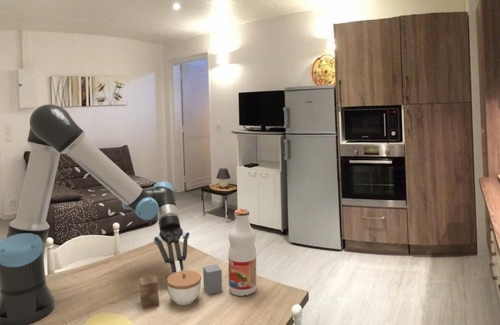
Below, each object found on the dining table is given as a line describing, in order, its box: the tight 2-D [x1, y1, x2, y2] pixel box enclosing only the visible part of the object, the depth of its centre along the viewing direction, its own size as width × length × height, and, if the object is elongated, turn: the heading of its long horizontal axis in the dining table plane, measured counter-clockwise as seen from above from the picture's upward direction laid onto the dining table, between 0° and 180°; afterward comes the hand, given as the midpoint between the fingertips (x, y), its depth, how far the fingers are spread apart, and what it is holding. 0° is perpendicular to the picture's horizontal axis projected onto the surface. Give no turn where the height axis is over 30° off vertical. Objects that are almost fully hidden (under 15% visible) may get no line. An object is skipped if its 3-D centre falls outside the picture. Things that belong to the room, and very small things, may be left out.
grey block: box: [202, 263, 223, 296], centre depth 121 cm, size 5×5×8 cm
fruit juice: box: [227, 208, 257, 297], centre depth 119 cm, size 9×9×28 cm
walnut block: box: [139, 274, 160, 310], centre depth 113 cm, size 5×5×8 cm
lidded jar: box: [166, 270, 202, 306], centre depth 114 cm, size 11×11×9 cm
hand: (179, 280), depth 120 cm, fingers closed
